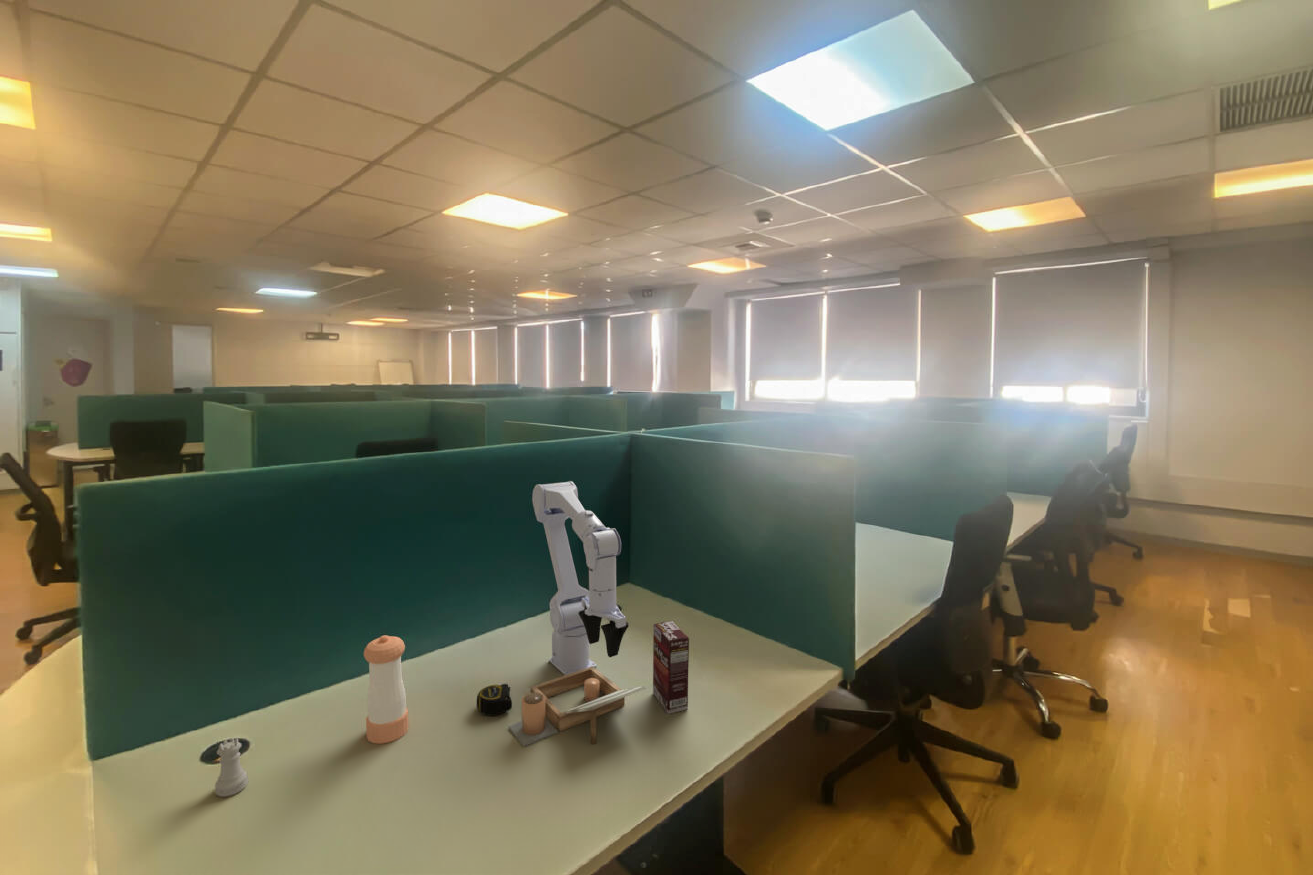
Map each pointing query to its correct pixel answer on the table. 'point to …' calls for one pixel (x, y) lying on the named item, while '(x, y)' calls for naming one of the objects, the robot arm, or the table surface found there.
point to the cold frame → (589, 709)
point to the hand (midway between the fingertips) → (603, 648)
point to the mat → (530, 739)
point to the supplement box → (670, 666)
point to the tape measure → (494, 699)
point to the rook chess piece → (230, 770)
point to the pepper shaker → (386, 690)
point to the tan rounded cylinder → (591, 689)
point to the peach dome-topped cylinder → (533, 713)
